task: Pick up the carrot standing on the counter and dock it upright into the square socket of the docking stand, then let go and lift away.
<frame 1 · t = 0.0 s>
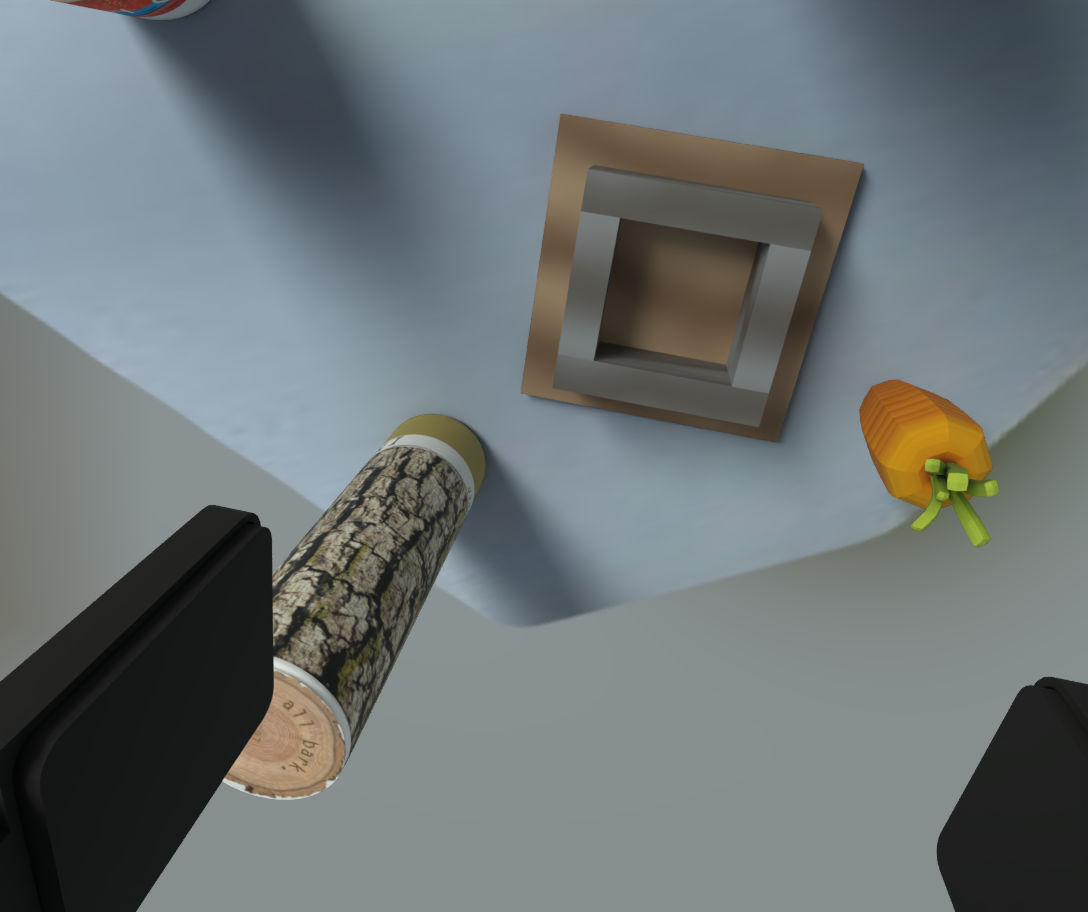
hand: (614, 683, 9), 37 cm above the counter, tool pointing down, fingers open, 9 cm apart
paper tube: (439, 455, 50), on the counter
docking stand: (676, 285, 43), on the counter
carrot: (877, 389, 44), on the counter
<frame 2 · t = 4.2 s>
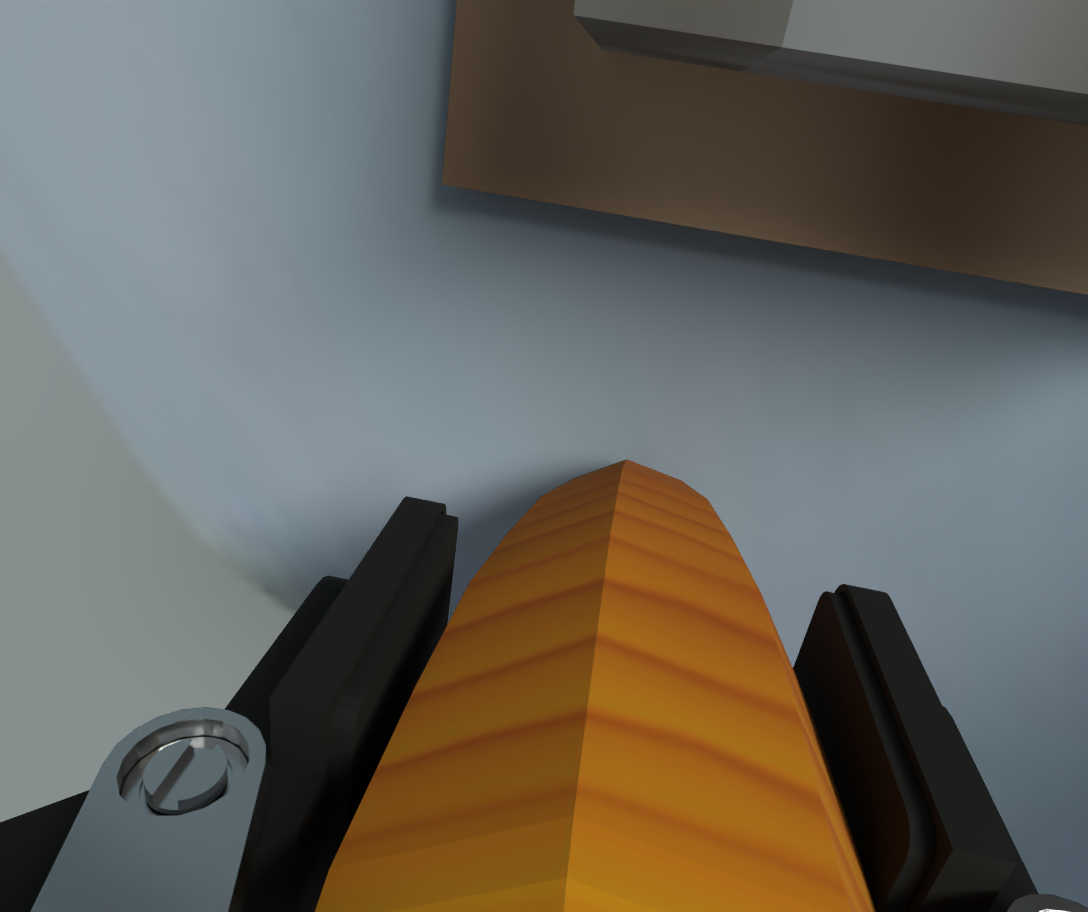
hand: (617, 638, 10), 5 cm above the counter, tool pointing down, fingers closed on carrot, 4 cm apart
carrot: (631, 476, 15), on the counter, touching gripper
when the fingers open (7 cm above the counter, at t = 10.6 s): carrot drops 1 cm, resting on docking stand.
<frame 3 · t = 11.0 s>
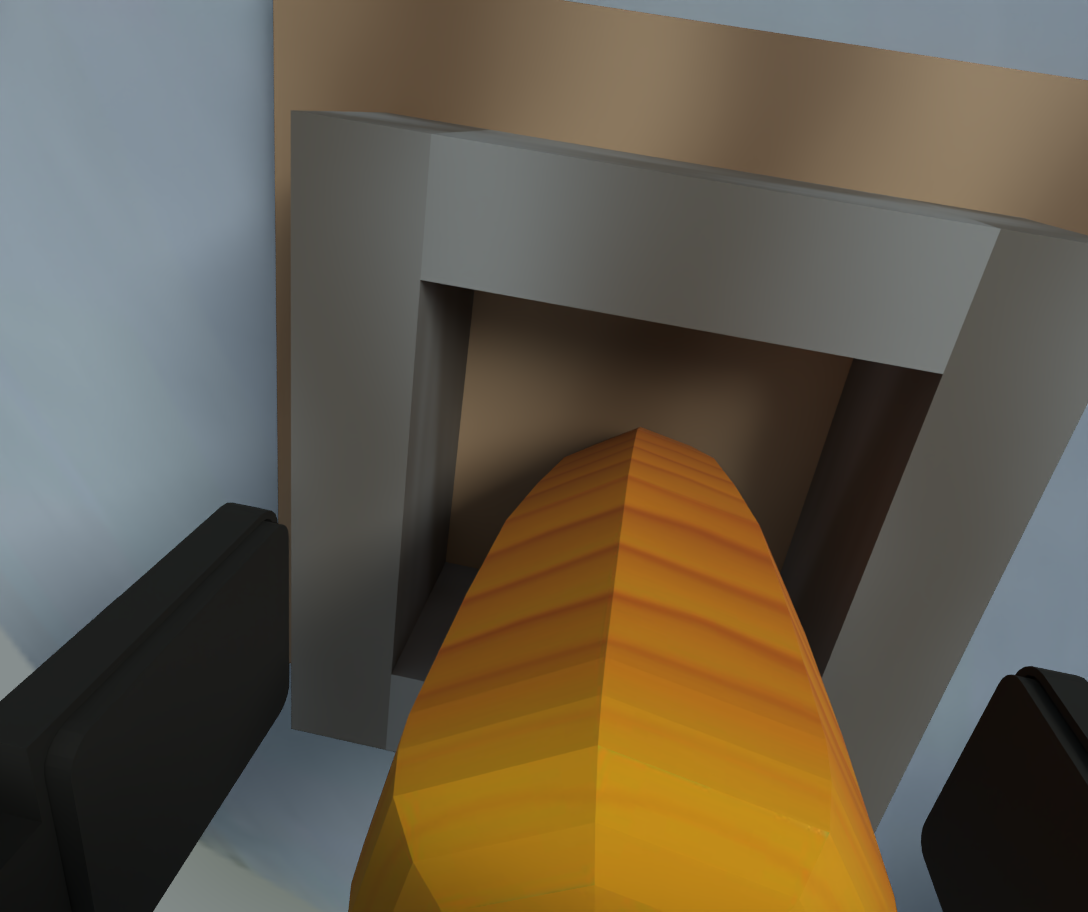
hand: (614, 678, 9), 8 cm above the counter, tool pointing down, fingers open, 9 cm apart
docking stand: (634, 432, 17), on the counter
carrot: (644, 447, 16), point 1 cm above the counter, touching docking stand
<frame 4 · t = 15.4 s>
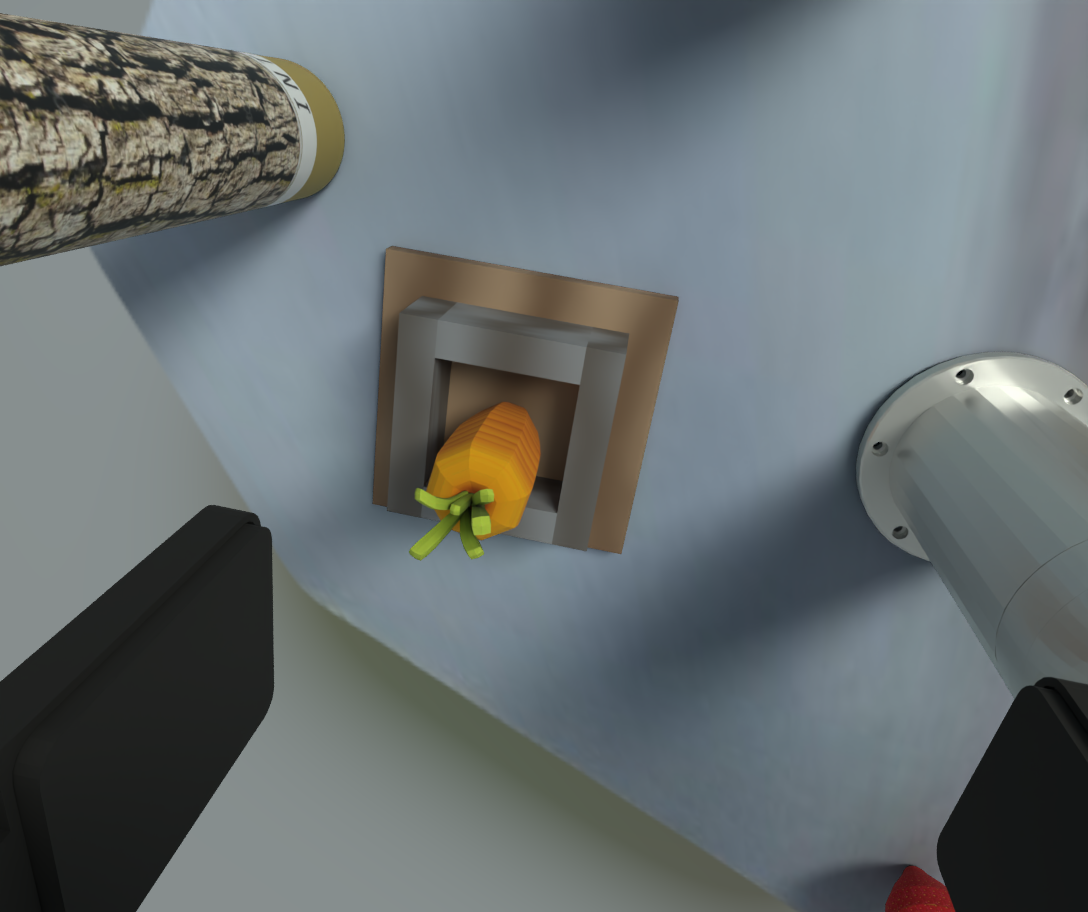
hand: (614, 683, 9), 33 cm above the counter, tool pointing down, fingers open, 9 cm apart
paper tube: (290, 131, 40), on the counter
docking stand: (514, 405, 44), on the counter
carrot: (516, 410, 43), point 1 cm above the counter, touching docking stand
strawberry: (912, 864, 55), on the counter
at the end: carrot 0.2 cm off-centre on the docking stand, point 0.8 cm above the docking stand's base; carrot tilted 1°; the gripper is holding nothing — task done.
